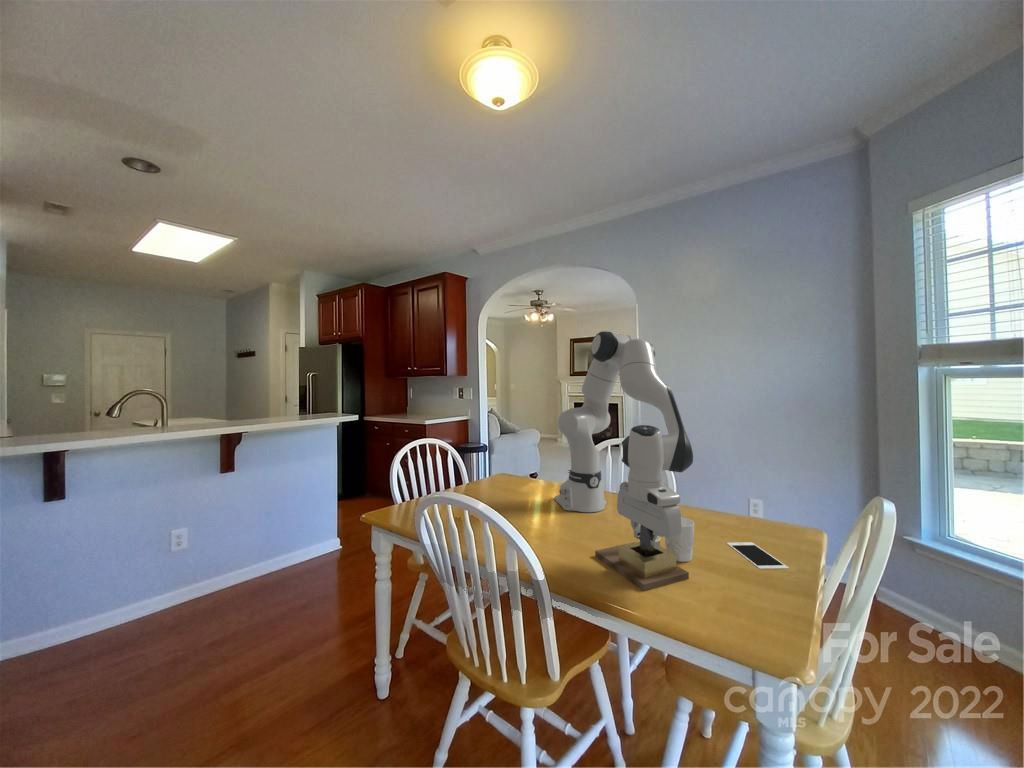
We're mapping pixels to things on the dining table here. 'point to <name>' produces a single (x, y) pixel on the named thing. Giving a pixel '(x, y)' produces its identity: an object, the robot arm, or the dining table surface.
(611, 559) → the walnut board
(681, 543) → the white cup
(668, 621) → the dining table surface
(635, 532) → the robot arm
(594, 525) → the dining table surface
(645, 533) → the steel pin
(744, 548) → the cell phone
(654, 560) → the square brass washer
